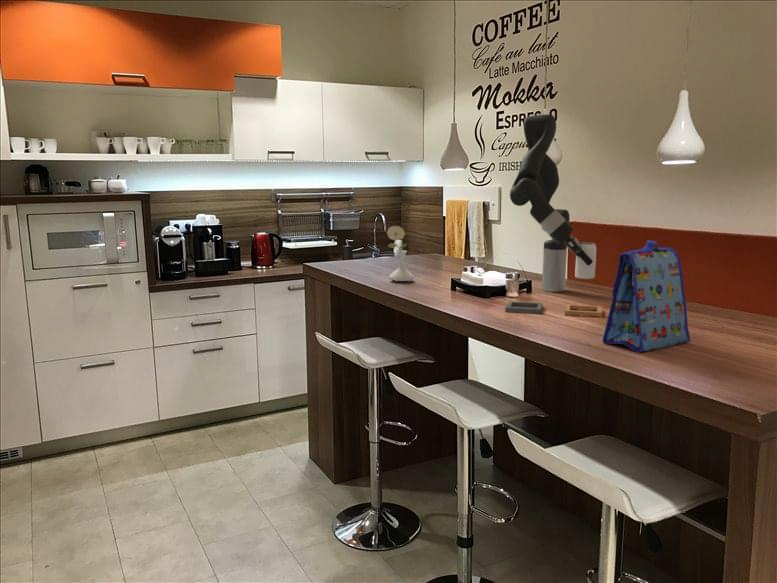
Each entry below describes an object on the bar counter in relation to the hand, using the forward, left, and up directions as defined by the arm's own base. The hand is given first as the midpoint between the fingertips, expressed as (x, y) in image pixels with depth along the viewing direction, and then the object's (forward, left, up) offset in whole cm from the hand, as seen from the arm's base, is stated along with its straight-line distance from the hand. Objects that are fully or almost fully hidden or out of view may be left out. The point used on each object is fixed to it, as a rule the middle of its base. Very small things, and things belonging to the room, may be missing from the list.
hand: (590, 262), depth 220 cm
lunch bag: (+38, +15, -18) cm, 45 cm away
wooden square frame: (0, -2, -18) cm, 18 cm away
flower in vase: (-48, -81, -18) cm, 95 cm away
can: (0, -2, -6) cm, 6 cm away
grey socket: (0, -22, -18) cm, 28 cm away
